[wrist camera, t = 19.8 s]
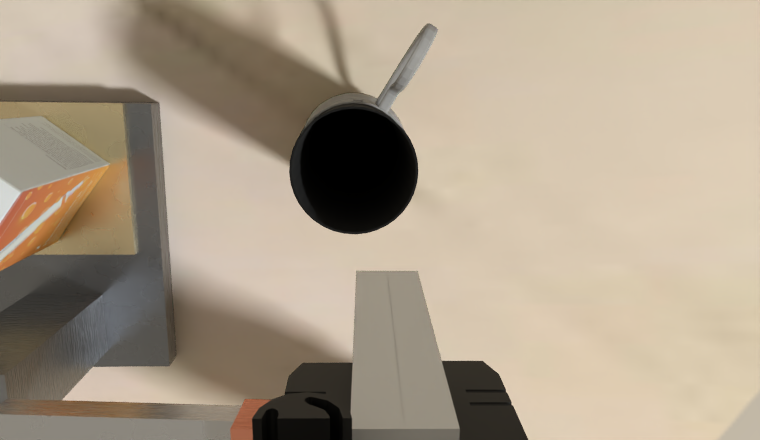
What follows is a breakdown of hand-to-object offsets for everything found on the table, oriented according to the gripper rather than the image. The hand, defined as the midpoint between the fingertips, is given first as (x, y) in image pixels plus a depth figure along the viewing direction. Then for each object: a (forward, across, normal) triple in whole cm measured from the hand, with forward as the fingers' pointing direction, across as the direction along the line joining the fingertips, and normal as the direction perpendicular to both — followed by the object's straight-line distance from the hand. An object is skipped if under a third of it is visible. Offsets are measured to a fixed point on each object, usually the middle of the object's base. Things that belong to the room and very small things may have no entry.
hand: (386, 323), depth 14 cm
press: (+35, -25, -6) cm, 43 cm away
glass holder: (+36, 0, +2) cm, 36 cm away
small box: (+33, -25, -2) cm, 41 cm away
